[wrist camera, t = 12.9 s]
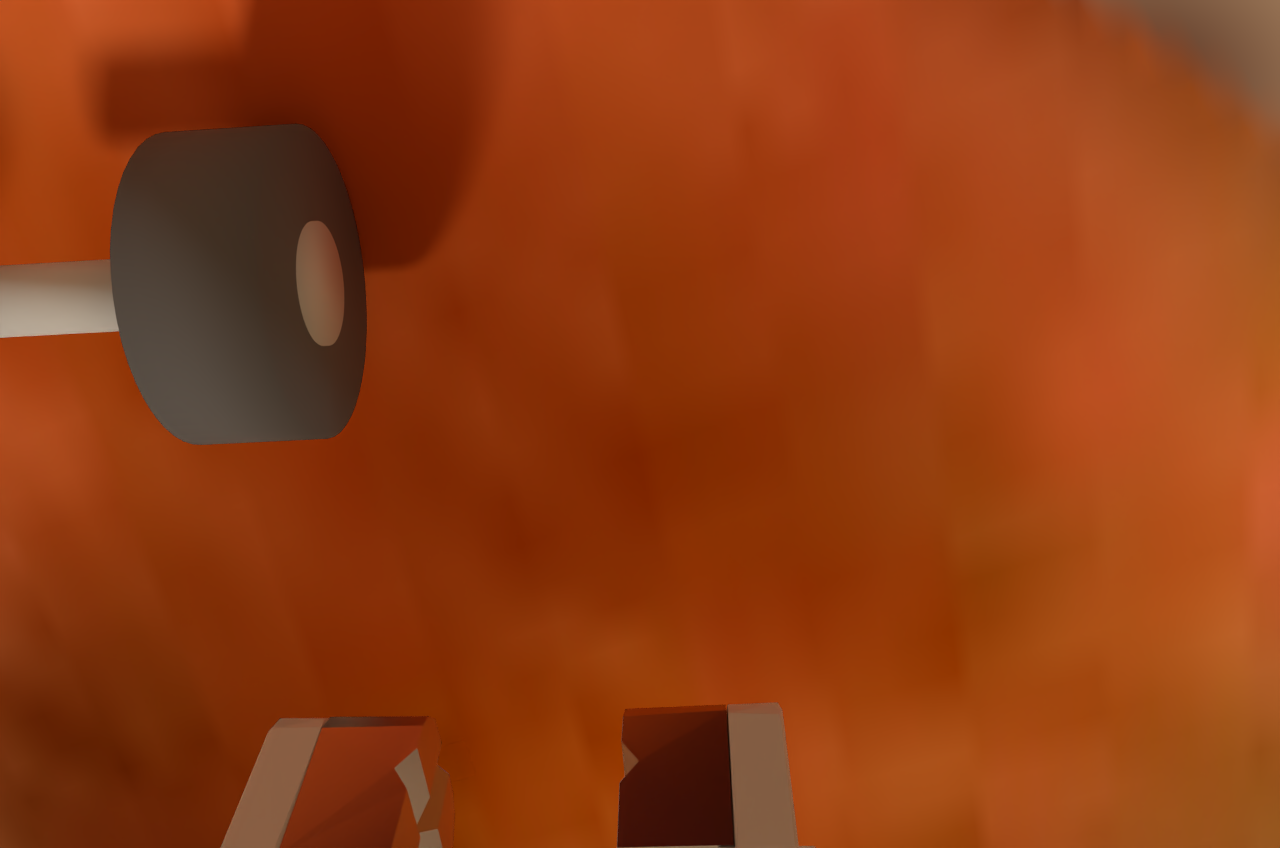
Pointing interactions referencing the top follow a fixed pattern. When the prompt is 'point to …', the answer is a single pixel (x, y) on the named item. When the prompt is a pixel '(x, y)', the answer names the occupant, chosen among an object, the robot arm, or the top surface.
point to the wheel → (221, 286)
